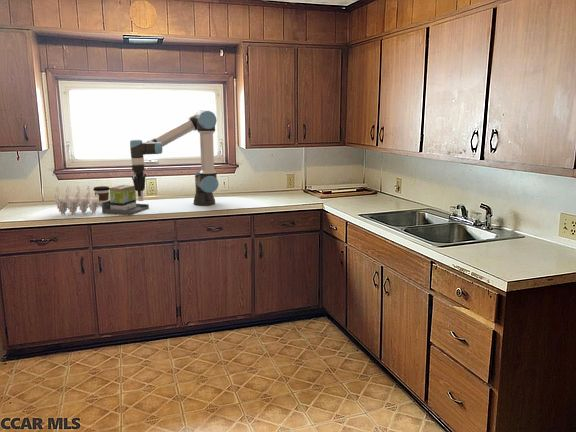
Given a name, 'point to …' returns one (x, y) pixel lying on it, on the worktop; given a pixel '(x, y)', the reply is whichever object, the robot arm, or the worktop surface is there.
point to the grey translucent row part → (76, 202)
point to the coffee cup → (102, 193)
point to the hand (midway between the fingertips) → (141, 200)
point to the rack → (107, 210)
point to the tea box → (123, 197)
